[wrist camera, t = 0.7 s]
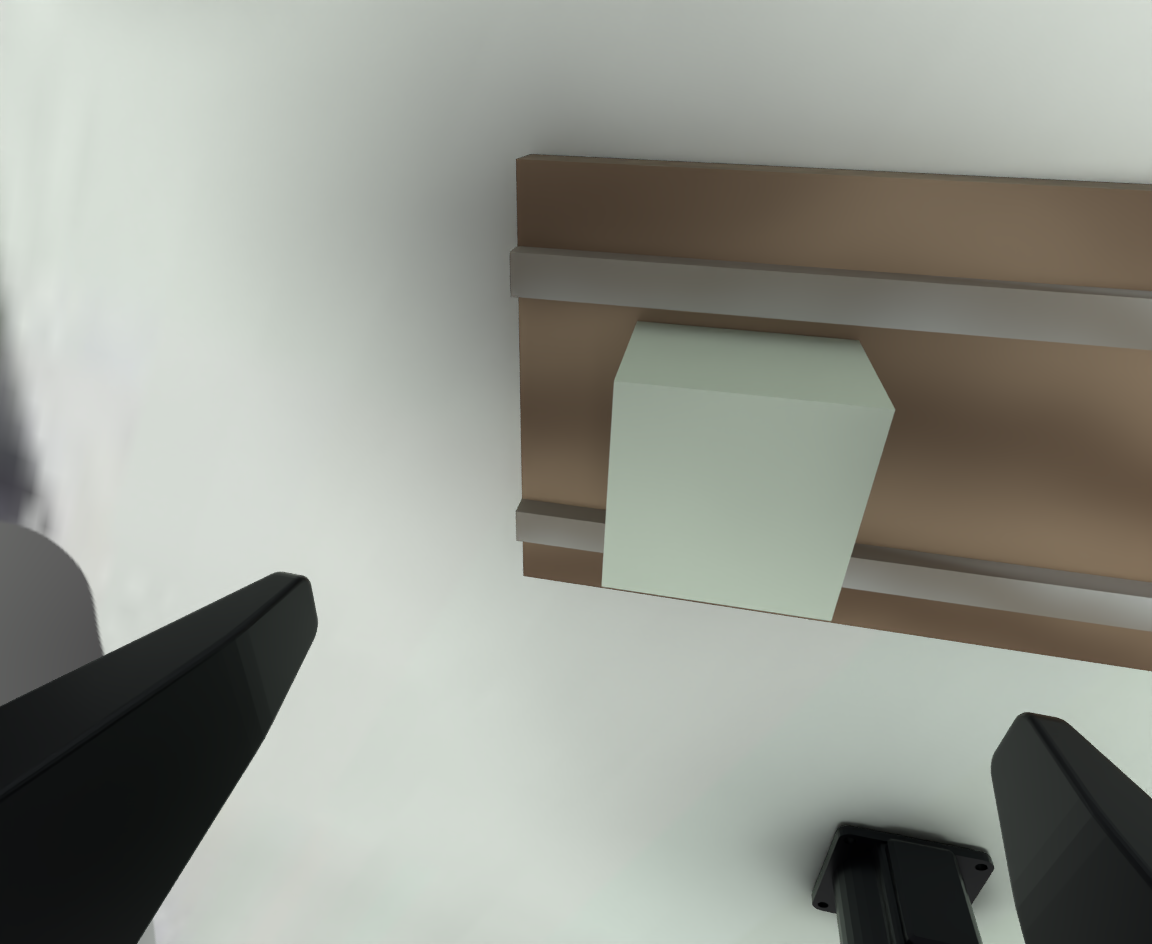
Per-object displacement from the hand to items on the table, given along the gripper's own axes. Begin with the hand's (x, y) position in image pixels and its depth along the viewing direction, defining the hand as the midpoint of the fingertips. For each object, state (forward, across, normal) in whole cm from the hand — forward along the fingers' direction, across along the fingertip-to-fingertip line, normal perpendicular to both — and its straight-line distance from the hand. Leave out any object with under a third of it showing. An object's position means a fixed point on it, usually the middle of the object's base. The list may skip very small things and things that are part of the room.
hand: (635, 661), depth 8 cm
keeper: (+12, -2, +2) cm, 12 cm away
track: (+14, -8, +2) cm, 16 cm away
